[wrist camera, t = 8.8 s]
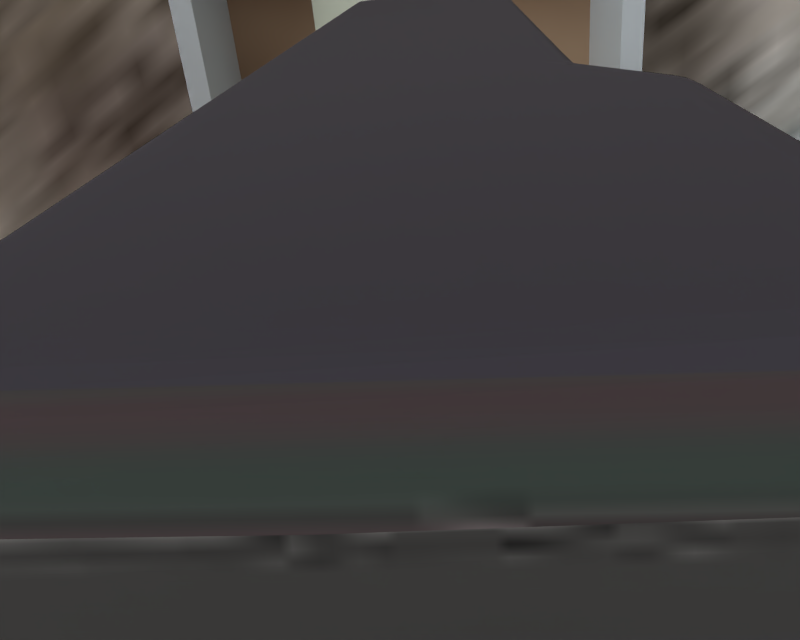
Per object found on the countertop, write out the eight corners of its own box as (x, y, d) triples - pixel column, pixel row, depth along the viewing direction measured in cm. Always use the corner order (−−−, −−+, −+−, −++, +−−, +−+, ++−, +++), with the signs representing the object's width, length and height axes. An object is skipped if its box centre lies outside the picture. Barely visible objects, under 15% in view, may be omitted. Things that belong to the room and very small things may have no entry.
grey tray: (183, -127, 22) (137, -139, 18) (615, -176, 21) (656, -199, 18) (281, 380, 30) (264, 440, 26) (598, 357, 29) (623, 415, 26)
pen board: (190, -125, 23) (183, -127, 22) (608, -172, 22) (615, -176, 21) (285, 369, 30) (281, 380, 30) (593, 347, 30) (598, 357, 29)
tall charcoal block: (319, 2, 15) (-678, 478, 2) (532, -19, 15) (1325, 396, 1) (377, 441, 20) (230, 1437, 7) (538, 434, 20) (721, 1482, 6)
